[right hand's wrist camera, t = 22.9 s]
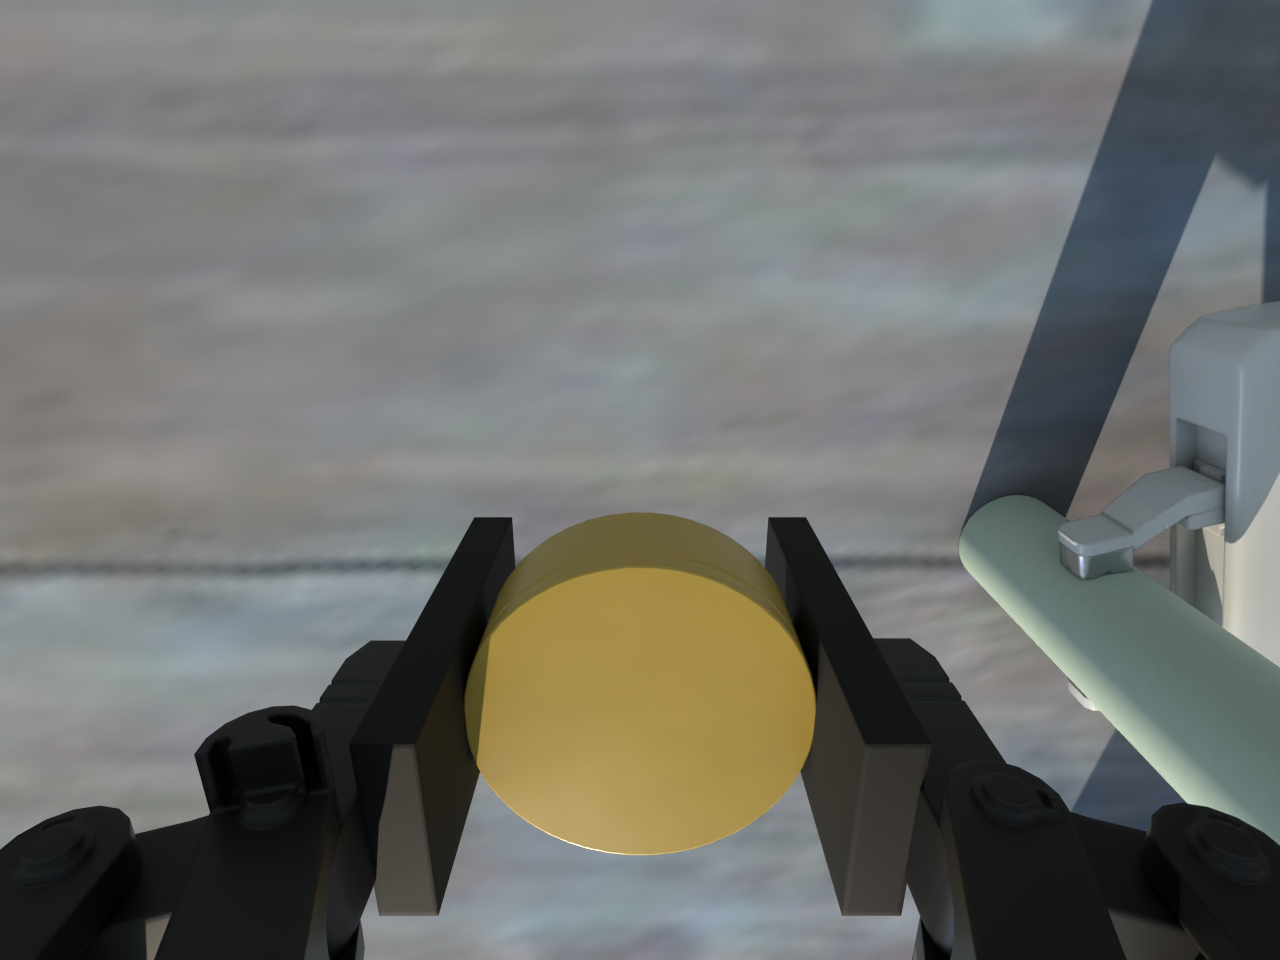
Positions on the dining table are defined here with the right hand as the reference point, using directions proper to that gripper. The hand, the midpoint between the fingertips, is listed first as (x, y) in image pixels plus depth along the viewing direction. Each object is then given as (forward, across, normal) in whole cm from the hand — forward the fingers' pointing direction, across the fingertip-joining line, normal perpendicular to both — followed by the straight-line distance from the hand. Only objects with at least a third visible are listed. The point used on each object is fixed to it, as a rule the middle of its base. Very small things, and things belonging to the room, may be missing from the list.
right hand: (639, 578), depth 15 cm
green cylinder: (+17, +17, -7) cm, 25 cm away
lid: (-4, 0, 0) cm, 4 cm away
